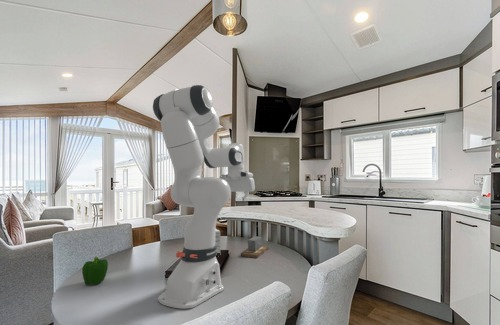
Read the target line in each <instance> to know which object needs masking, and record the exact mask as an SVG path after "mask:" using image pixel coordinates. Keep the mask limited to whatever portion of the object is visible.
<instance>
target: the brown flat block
mask: <svg viewBox="0 0 500 325" xmlns="http://www.w3.org/2000/svg"><path fill="white" fill-rule="evenodd" d="M268 250H269V245H262V248H260V249H259V250H257V251H256V252H251V251H248V247H247V248H246V249H245V250H242V251H241V252H240V257H245V258H247V257H248V258H254V259H258V258H259V257H260V256H261V255H263V254H264V253H266V252H267V251H268Z"/></svg>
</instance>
